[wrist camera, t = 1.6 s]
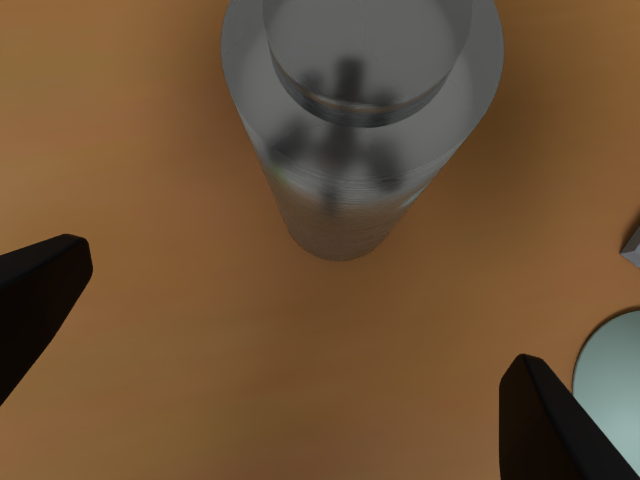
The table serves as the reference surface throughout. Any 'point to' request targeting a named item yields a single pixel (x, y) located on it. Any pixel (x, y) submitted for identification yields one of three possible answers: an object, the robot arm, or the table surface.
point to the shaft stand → (633, 249)
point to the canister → (357, 104)
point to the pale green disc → (613, 383)
